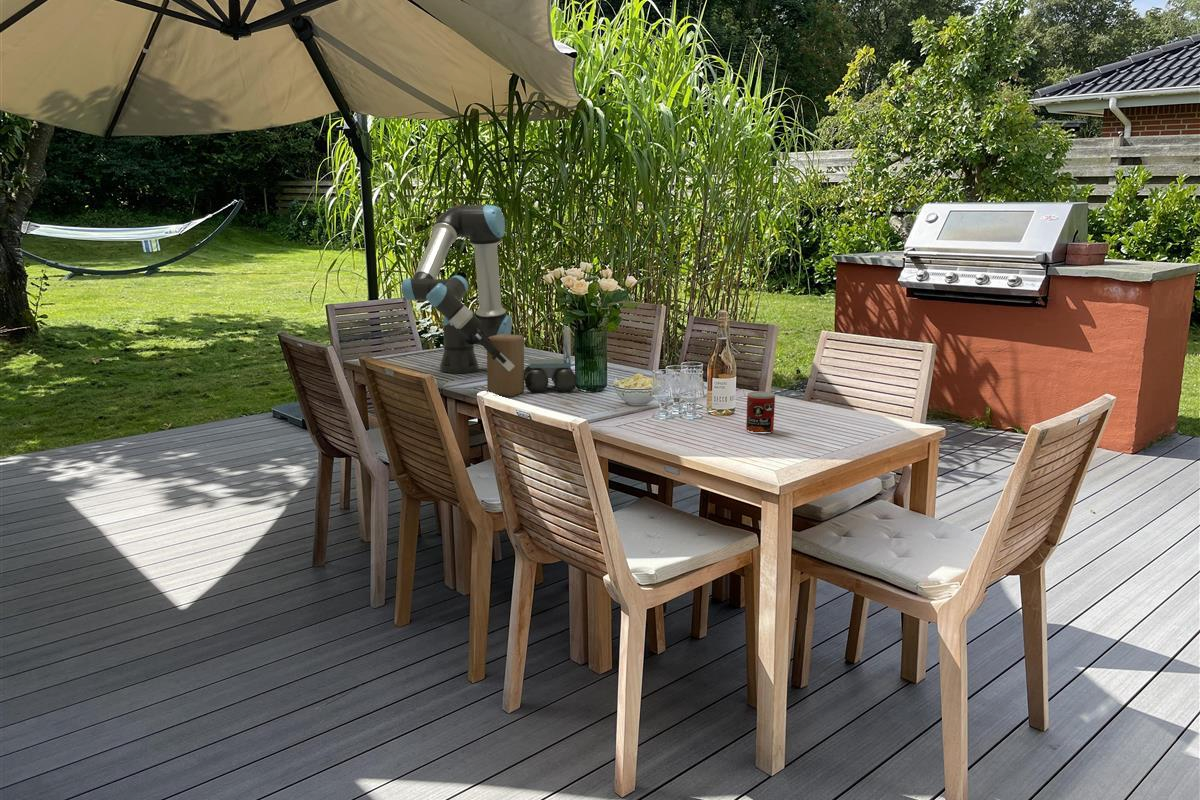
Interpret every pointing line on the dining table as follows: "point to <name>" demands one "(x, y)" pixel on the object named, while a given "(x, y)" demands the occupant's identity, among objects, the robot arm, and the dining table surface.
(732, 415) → the dining table surface
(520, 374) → the wooden block
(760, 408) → the canned food
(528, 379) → the trolley
